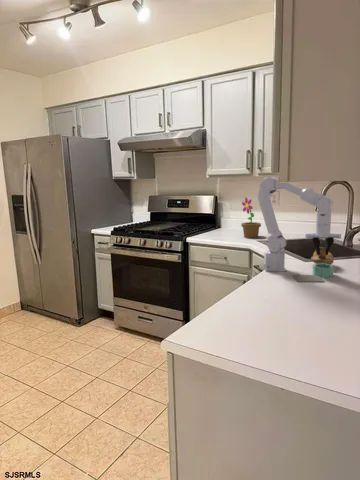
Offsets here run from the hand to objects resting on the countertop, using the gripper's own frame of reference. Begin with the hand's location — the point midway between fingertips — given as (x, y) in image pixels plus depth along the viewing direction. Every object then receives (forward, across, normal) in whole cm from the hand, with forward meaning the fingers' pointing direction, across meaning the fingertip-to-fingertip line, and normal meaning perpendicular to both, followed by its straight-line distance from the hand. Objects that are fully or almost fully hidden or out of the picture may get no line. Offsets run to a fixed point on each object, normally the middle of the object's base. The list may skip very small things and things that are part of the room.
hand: (321, 254), depth 143 cm
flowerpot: (+10, -24, +98) cm, 101 cm away
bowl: (+10, +1, +1) cm, 10 cm away
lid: (+2, 0, 0) cm, 3 cm away
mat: (+9, -7, -6) cm, 13 cm away
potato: (+10, +5, +15) cm, 19 cm away
